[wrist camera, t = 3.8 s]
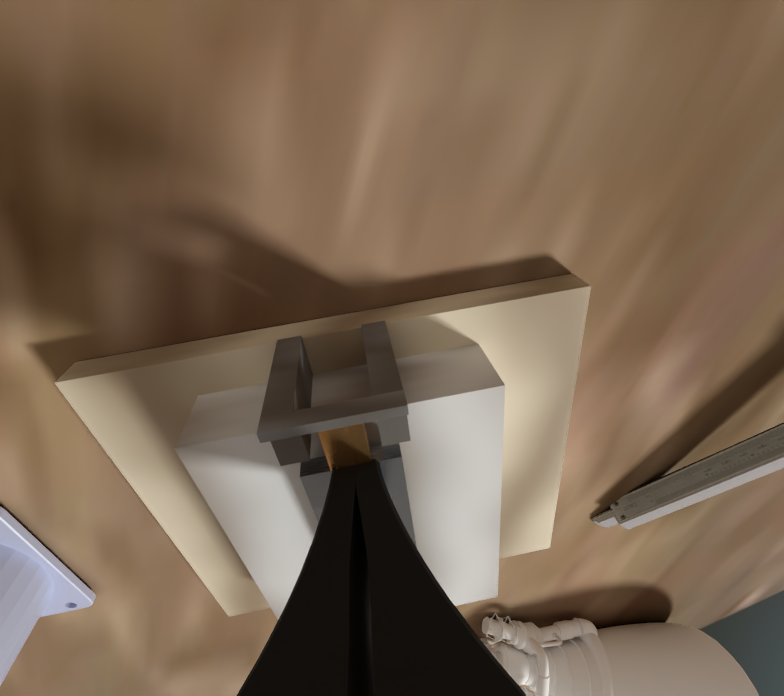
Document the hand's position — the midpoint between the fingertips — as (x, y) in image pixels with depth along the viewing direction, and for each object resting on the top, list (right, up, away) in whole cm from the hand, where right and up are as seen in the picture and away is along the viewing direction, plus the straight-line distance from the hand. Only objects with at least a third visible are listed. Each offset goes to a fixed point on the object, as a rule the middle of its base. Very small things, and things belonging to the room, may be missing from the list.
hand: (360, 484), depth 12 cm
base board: (0, -1, +6) cm, 6 cm away
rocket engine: (+16, -17, +19) cm, 30 cm away
